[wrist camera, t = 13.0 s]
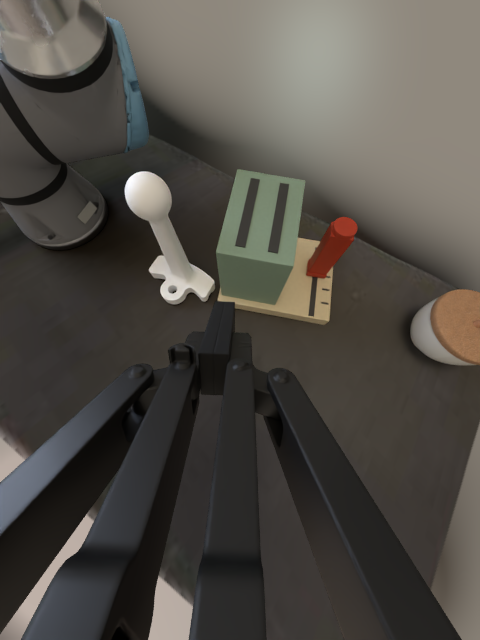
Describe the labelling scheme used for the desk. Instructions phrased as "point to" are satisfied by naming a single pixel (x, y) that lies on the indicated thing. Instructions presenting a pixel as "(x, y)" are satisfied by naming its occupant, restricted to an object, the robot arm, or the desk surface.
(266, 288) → the toaster
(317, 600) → the desk surface
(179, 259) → the joystick
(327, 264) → the slider
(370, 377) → the desk surface
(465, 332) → the trinket box
